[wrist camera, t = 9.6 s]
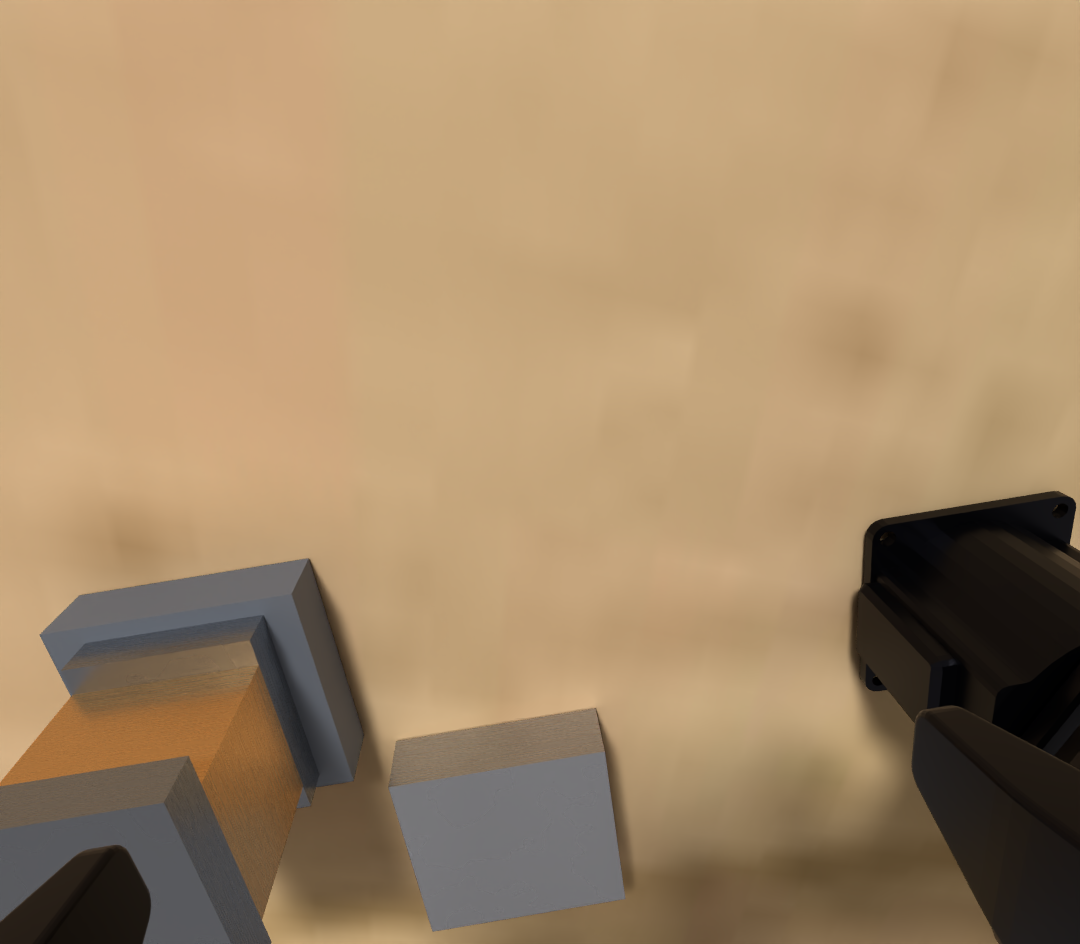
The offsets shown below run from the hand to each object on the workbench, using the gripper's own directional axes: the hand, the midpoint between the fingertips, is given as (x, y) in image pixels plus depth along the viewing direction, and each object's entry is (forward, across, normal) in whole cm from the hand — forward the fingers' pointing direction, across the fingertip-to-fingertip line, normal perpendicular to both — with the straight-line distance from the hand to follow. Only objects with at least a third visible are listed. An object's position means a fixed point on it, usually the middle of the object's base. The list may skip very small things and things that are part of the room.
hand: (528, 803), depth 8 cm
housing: (+11, +10, +6) cm, 16 cm away
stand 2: (+13, +2, +14) cm, 19 cm away
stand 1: (+13, +10, +6) cm, 18 cm away
